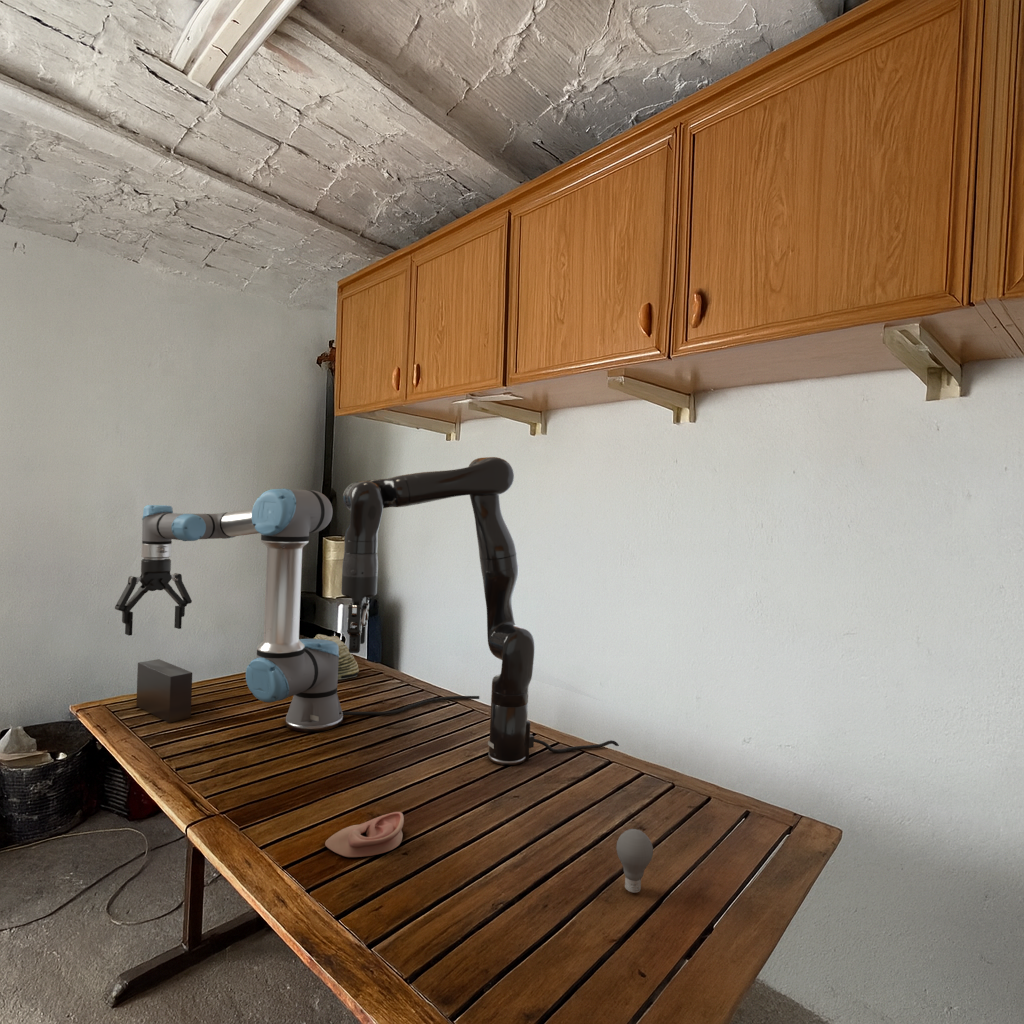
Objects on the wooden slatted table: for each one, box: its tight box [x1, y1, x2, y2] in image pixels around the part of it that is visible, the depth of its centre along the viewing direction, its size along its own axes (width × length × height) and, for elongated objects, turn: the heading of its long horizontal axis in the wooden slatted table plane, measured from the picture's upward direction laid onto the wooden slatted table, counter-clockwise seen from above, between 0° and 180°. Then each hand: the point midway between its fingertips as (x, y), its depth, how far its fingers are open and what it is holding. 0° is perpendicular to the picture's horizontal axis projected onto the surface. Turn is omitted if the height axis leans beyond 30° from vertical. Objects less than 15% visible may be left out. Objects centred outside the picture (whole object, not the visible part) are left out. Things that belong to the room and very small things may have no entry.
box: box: [135, 658, 193, 724], centre depth 180 cm, size 20×6×13 cm, turn 53°
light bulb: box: [615, 828, 654, 894], centre depth 106 cm, size 6×6×10 cm
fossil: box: [312, 633, 360, 681], centre depth 220 cm, size 9×18×15 cm, turn 132°
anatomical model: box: [324, 811, 405, 858], centre depth 117 cm, size 13×4×12 cm
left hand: (153, 631), depth 184 cm, fingers open, 13 cm apart
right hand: (357, 647), depth 137 cm, fingers open, 8 cm apart
